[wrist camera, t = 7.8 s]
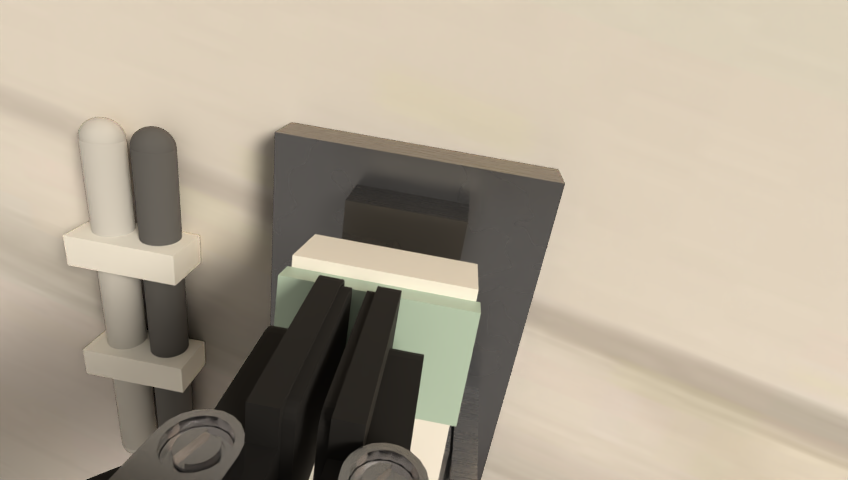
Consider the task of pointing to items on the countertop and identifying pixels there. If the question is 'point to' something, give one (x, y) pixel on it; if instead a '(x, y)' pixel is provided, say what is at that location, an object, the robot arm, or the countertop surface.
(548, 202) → the tabletop balance seesaw
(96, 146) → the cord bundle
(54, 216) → the countertop surface
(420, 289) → the white tilting beam
